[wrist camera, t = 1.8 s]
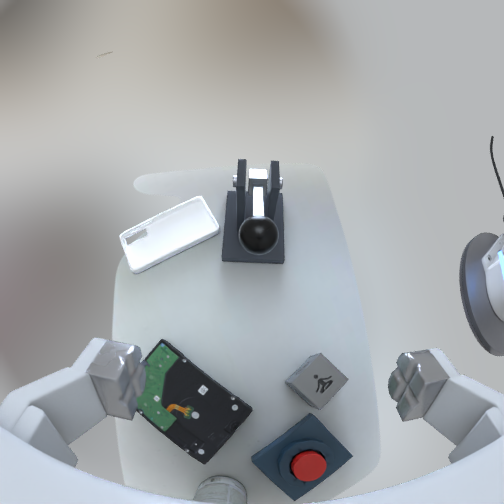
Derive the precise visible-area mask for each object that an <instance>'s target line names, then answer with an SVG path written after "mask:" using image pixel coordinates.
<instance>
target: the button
mask: <svg viewBox="0 0 504 504" xmlns="http://www.w3.org/2000/svg"><path fill="white" fill-rule="evenodd" d="M291 469H292V471H293V473H294V475H295V476H296V477H297V478H298V479H299V480H302V481H313V480H316V479H318V478H319V477H321V476H322V475H323V473H324V472H325V470H326V461H325V459H324V458H323V457H322V456H321V455H320V454H319V453H317V452H315V451H304V452H302V453H300V454H298V455H297V456H296V457H295V458H294V459H293V461H292V464H291Z"/></svg>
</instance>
